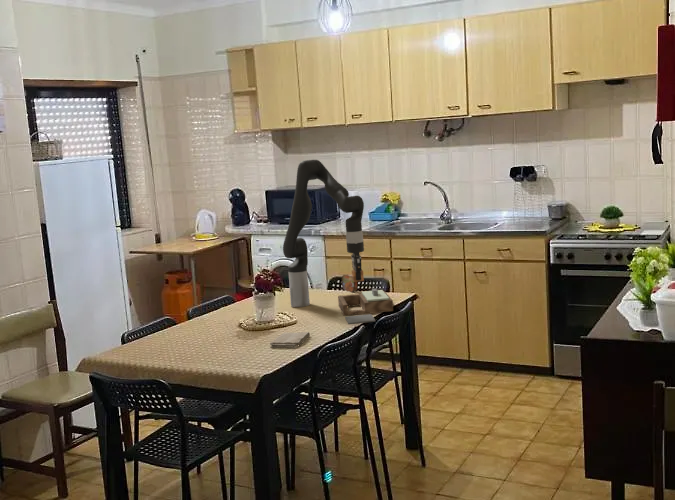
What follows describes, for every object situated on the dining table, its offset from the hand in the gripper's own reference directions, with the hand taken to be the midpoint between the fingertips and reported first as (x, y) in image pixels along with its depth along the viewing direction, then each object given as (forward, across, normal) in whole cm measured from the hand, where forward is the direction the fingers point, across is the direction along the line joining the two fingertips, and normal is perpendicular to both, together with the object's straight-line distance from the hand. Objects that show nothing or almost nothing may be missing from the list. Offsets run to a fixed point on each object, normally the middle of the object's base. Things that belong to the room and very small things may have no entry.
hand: (357, 279), depth 342 cm
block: (+1, 0, 0) cm, 1 cm away
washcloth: (+19, +27, -34) cm, 47 cm away
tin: (+17, -63, +4) cm, 66 cm away
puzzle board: (+18, -19, +6) cm, 27 cm away
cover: (+13, -19, +10) cm, 25 cm away
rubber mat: (+18, +2, -1) cm, 18 cm away
